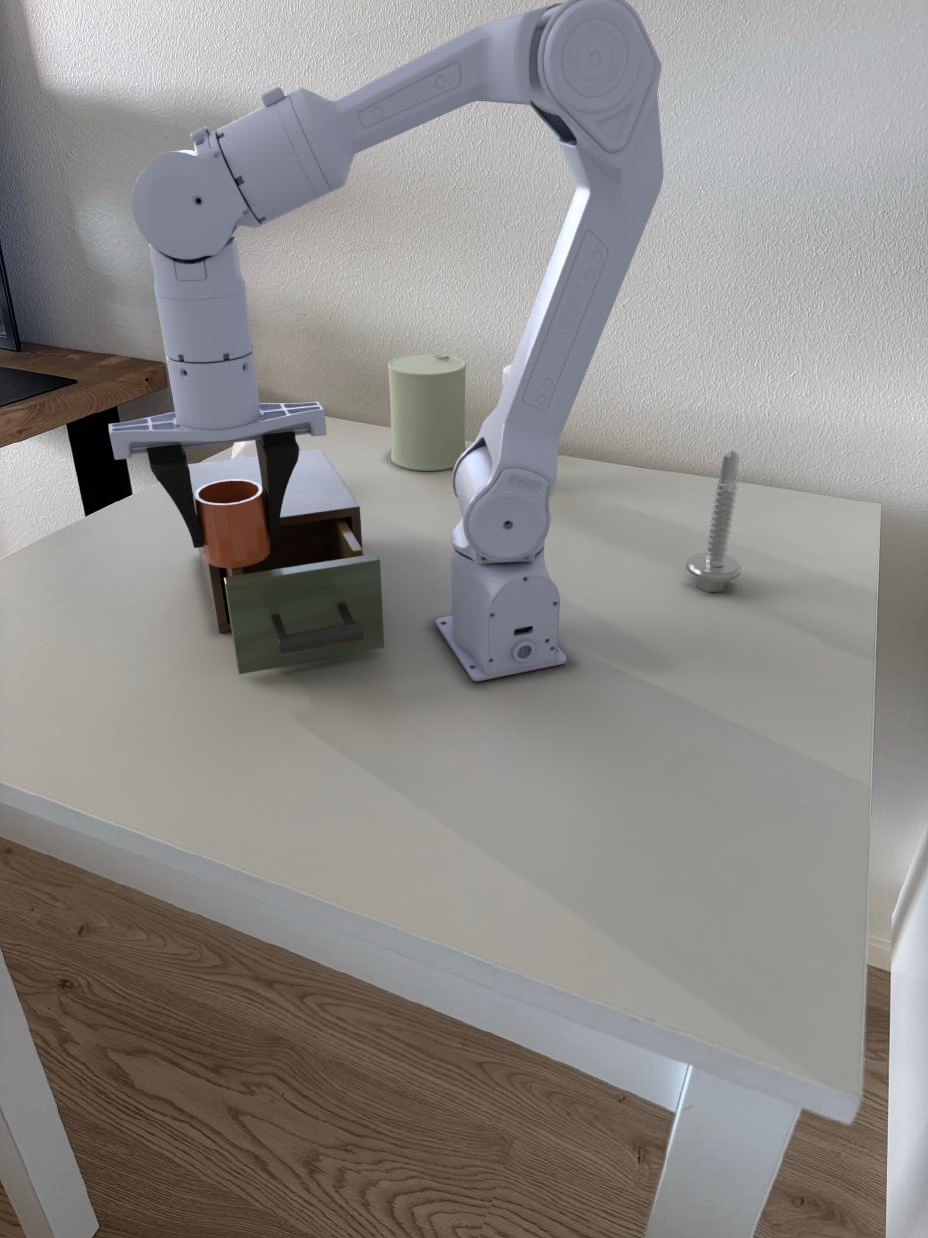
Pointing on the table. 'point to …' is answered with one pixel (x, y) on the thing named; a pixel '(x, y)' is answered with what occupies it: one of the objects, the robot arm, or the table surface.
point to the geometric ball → (246, 449)
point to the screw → (718, 534)
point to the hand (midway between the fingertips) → (235, 536)
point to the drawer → (305, 598)
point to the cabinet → (305, 500)
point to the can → (427, 411)
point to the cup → (233, 522)
